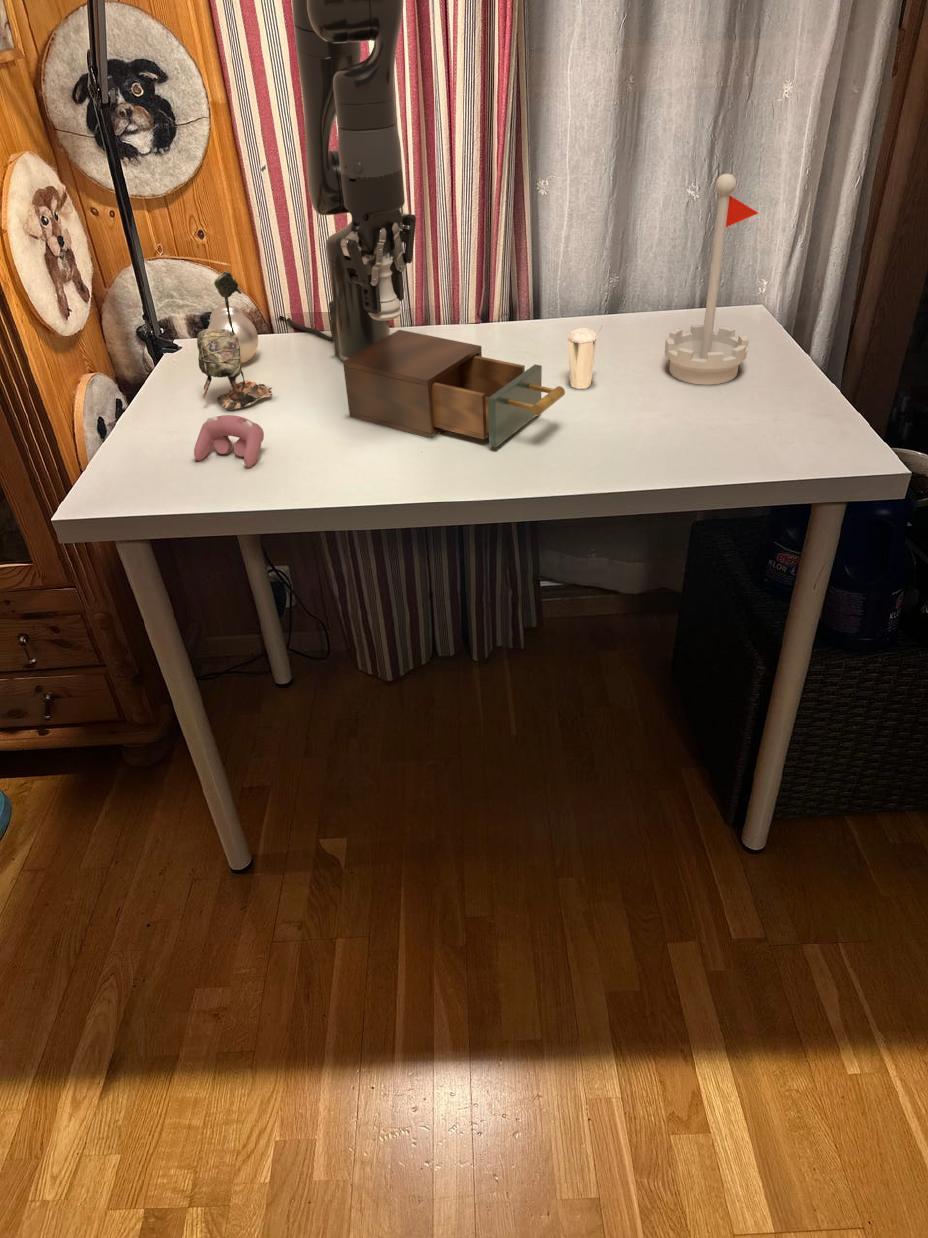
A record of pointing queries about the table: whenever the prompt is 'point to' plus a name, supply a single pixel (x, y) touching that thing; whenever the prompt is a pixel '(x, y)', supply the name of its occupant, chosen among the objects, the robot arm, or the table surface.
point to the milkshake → (581, 356)
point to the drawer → (490, 398)
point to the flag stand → (711, 312)
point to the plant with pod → (227, 356)
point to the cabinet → (402, 379)
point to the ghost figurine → (236, 329)
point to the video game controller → (218, 434)
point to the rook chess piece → (386, 292)
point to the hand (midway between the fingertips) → (384, 305)
